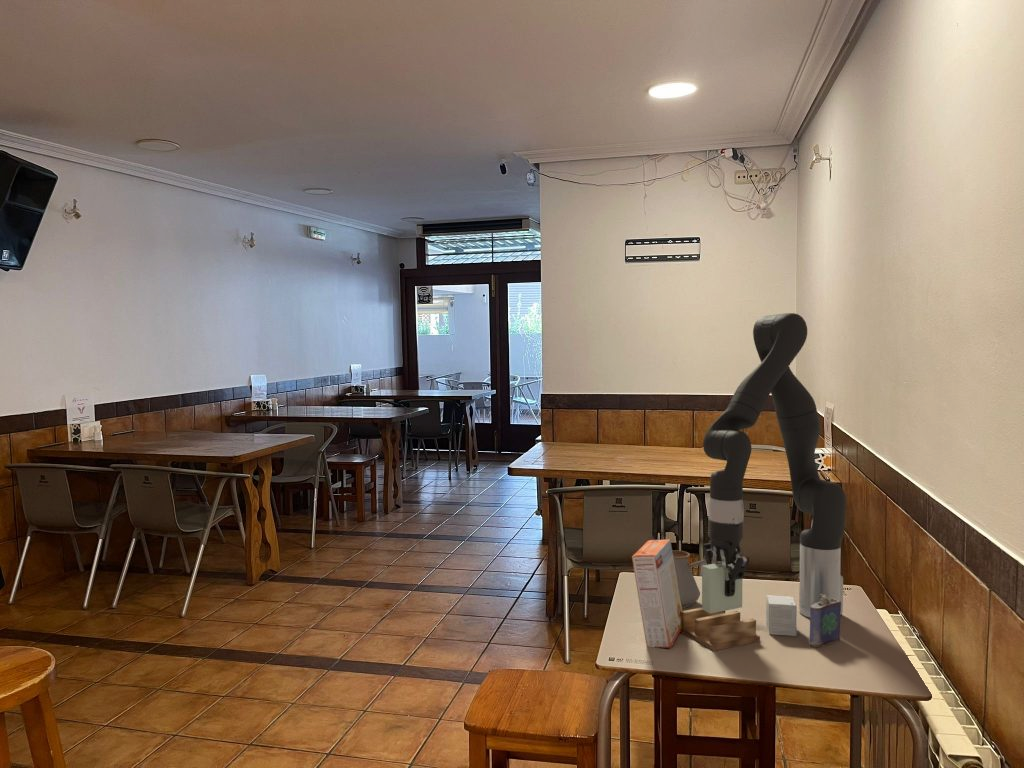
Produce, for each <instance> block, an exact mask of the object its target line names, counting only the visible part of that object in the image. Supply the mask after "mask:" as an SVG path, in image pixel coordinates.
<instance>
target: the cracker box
mask: <svg viewBox="0 0 1024 768" xmlns="http://www.w3.org/2000/svg"><path fill="white" fill-rule="evenodd" d="M672 550H673V548H672V542H671V539H649V540H647V541H646V542H645V543H644V544H643V545H642V546H641V547H640V548H639V549H638V550H637V551H636V552H635V553H634V554H633V555H632V556H631V559H632V560H631V561H632V566H633V573H634V579H635V586H636V591H637V597H638V603H639V609H640V615H641V621H642V628H643V632H644V640H645V645H649V646H648V647H651V646H654V647H653V648H657V647H661V649H662V648H663V649H664V648H665V649H668V648H669V649H671V648H672V647H673V644H674V643H675V641H676V639H677V638H678V636H679V635H680V633H681V630H682V629H681V628H682V620H681V611H683V610H682V609H683V608H681V602H680V596H679V590H678V584H677V577H676V571H675V565H674V559H673V552H672Z"/></svg>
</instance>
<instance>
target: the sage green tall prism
mask: <svg viewBox="0 0 1024 768" xmlns="http://www.w3.org/2000/svg"><path fill="white" fill-rule="evenodd" d="M728 565H732V564H728ZM731 573H732V569H731V570H730V574H731ZM725 580H726V579H725V570H724V569H723V567H722V563H718V564H709V565H707V564H702V566H701V607H702V610H704V611H706V612H708V613H715V612H720V611H725V612H726V611H731V610H735V609H739V608H743V578H742V579H736V580H735V594H734V595H733V596H730V597H727V596H725Z"/></svg>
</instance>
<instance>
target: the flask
mask: <svg viewBox="0 0 1024 768" xmlns="http://www.w3.org/2000/svg"><path fill="white" fill-rule="evenodd" d="M820 595H821V596H822V595H823V596H822V598H821V601H820V602H818V603H815V604H813V605H811V606H810V618H809V646H810V647H813V648H815V649H817V648H823V646H827V645H830V643H831V644H833V643H835V642H834V641H836V642H839V640H840V639H841V638H840V637H841V635H840V634H841V615H840V613H841V601H840V600H837V599H833V598H830V599H827V598H828V597H827V596H826V595H824V594H820ZM820 595H819V596H820Z"/></svg>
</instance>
